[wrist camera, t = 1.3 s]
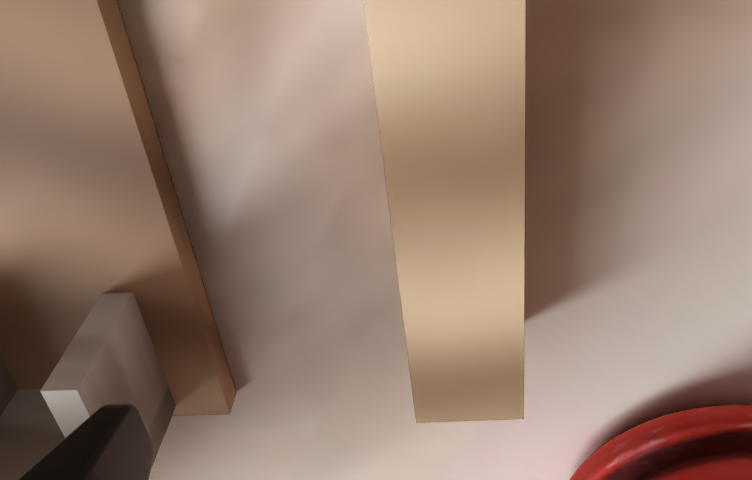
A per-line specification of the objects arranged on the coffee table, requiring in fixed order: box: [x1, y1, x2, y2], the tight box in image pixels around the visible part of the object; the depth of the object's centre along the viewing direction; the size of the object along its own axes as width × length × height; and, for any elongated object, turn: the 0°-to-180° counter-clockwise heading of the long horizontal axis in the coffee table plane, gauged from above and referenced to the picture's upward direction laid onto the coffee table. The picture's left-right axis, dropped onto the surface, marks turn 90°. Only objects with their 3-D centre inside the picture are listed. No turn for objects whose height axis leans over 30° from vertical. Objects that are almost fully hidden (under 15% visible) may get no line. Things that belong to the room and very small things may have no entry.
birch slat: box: [363, 0, 526, 423], centre depth 16 cm, size 16×3×4 cm, turn 7°
